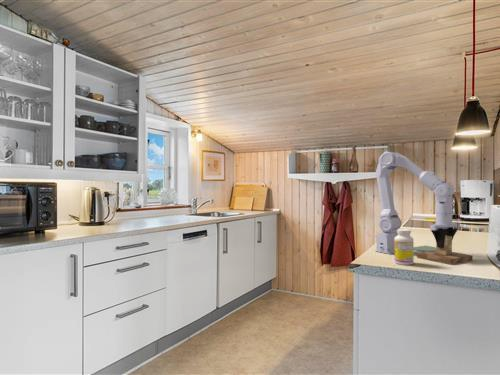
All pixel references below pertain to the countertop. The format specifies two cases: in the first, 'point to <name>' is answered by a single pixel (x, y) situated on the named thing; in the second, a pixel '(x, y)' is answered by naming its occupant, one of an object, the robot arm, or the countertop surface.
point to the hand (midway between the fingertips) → (444, 247)
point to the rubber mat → (424, 248)
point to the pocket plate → (445, 257)
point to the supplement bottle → (404, 247)
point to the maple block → (445, 246)
